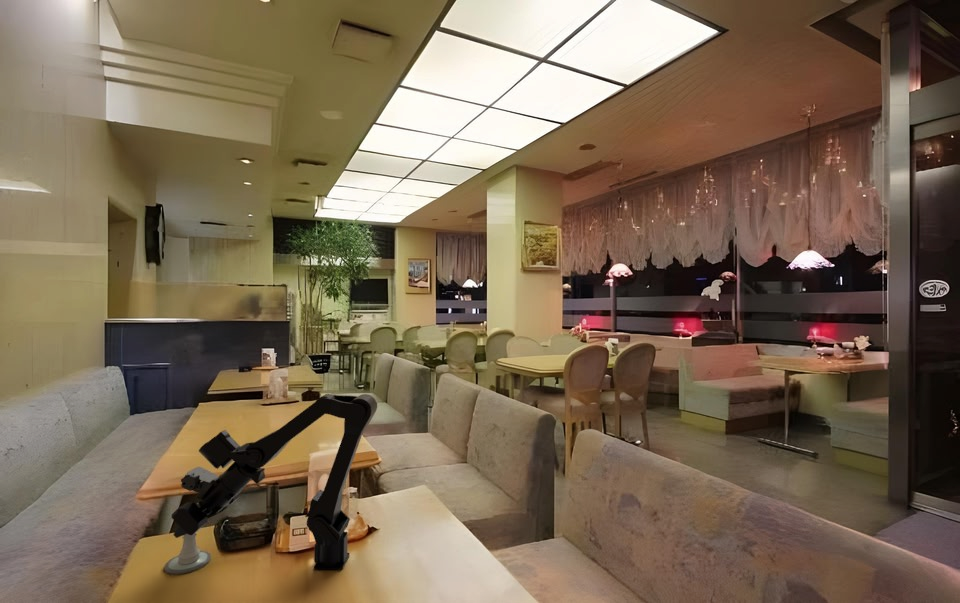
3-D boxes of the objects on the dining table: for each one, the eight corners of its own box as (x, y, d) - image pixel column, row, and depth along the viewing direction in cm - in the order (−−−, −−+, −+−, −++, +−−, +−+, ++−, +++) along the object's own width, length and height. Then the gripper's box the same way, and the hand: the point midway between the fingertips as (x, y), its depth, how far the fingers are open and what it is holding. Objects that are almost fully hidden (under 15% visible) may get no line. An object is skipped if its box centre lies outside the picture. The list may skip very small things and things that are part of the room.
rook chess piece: (193, 565, 103) (194, 529, 103) (173, 566, 103) (173, 530, 103) (204, 555, 107) (205, 520, 108) (184, 555, 107) (185, 521, 107)
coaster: (218, 553, 110) (218, 550, 110) (196, 574, 101) (196, 571, 101) (180, 553, 110) (181, 550, 110) (154, 574, 101) (154, 571, 101)
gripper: (228, 445, 115) (183, 489, 115) (181, 471, 96) (127, 524, 96) (259, 476, 115) (214, 521, 115) (218, 508, 96) (164, 561, 96)
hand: (182, 530), depth 105 cm, fingers open, 5 cm apart
